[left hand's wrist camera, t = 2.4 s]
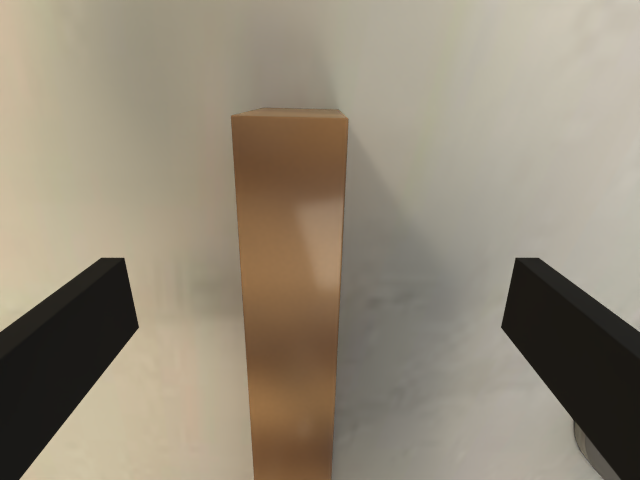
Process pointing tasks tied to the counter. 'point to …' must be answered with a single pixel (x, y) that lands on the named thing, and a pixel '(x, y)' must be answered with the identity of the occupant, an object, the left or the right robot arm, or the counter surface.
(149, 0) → the counter surface
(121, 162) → the counter surface
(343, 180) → the post
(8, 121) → the counter surface
